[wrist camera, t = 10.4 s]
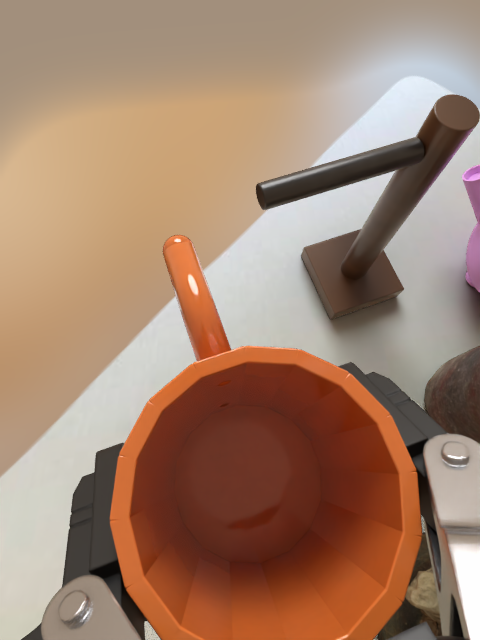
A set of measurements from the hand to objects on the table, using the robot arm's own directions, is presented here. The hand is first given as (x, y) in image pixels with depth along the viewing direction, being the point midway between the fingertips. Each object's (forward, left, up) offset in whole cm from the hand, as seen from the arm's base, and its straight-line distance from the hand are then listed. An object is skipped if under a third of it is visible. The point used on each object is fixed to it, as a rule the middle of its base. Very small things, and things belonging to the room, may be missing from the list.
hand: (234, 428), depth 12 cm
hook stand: (+11, +9, -18) cm, 23 cm away
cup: (0, 0, -4) cm, 4 cm away
